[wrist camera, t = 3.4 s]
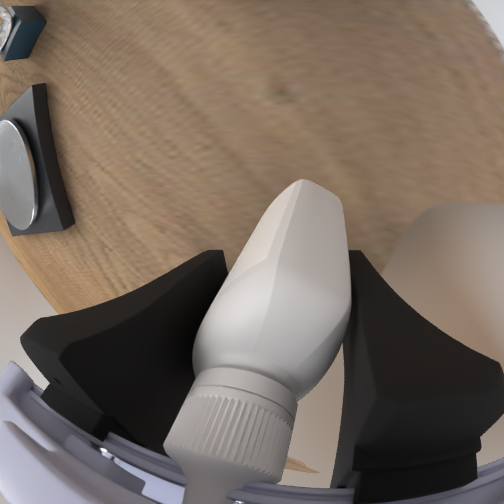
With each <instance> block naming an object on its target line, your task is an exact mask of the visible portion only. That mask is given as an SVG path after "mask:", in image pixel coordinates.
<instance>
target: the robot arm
mask: <svg viewBox="0 0 504 504" xmlns="http://www.w3.org/2000/svg"><path fill="white" fill-rule="evenodd" d="M348 253H349V263H350V275H351V300H352V304H351V313H350V319H349V324H348V327H347V330H346V334H345V337H344V340H343V353H344V376H345V377H344V379H345V381H344V396H343V407H342V417H341V425H340V433H339V441H338V447H337V453H336V459H335V465H334V470H333V476H332V480H331V485H330V488H308V487H307V488H306V487H296V486H286V485H278V484H271V483H264V482H254V483H248V484H245V485H244V488H242V489H233V490H232V491H230V492H228V493H227V495H226V496H225V497H226V498H229V499H232V500H234V501H236V502H235V503H234V504H504V458H501V459H499V460H496V461H493V462H491V463H488V464H485V465H483V466H480V467H477V459H476V453H477V452H479V451H480V450H481V440H480V436H482V434H484V433H485V432H486V431H487V430H488V429H489V428H490V427H491V426H492V425H493V424H494V423H495V422H496V421H497V420H498V419H499V418H500V417H501V416H502V415H503V414H504V373H503V370H502V368H501V365H500V363H499V362H497V361H495V360H493V359H490V358H489V357H487V356H484V355H482V354H480V353H478V352H476V351H474V350H472V349H470V348H469V347H467V346H465V345H463V344H462V343H460V342H459V341H457V340H455V339H453V338H452V337H450V336H449V335H447V334H446V333H444V332H443V331H441V330H440V329H438V328H437V327H436V326H434V325H433V324H432V323H430V322H429V321H428V320H426V319H425V318H424V317H422V316H421V315H420V314H419V313H417V312H416V311H415V310H414V309H413V308H412V307H411V306H409V305H408V304H407V303H406V302H405V301H404V300H403V299H402V298H401V297H400V296H399V295H398V294H397V293H396V292H395V291H394V290H393V289H392V288H391V287H390V286H389V285H388V284H387V283H386V282H385V280H384V279H383V278H382V277H381V276H380V274H379V273H378V272H377V271H376V270H375V268H374V267H373V266H372V264H371V263H370V262H369V261H368V259H367V258H366V257H365V255H364V254H363V253H362V252H361V250H348ZM227 276H228V271H227V267H226V262H225V257H224V252H223V250H207V251H205V252H203V253H201V254H199V255H197V256H195V257H193V258H192V259H190V260H188V261H186V262H185V263H183V264H181V265H180V266H178V267H176V268H174V269H173V270H171V271H169V272H168V273H166V274H164V275H162V276H160V277H159V278H157V279H155V280H153V281H151V282H150V283H148V284H146V285H144V286H142V287H140V288H138V289H136V290H134V291H131V292H129V293H127V294H125V295H123V296H120V297H118V298H115V299H112V300H110V301H107V302H104V303H101V304H99V305H96V306H93V307H89V308H86V309H82V310H79V311H75V312H71V313H66V314H61V315H55V316H50V317H44V318H40V319H38V320H36V321H35V322H34V323H33V324H32V325H31V326H30V327H29V328H28V329H27V330H26V331H25V332H24V333H23V334H22V336H21V337H20V340H21V344H22V347H23V349H24V350H25V352H26V354H27V355H28V356H29V358H30V359H31V360H32V362H33V363H34V364H35V366H36V367H37V368H38V369H39V371H40V372H41V373H42V374H43V375H44V377H45V378H46V379H47V380H48V381H49V383H50V384H49V385H48V386H47V388H46V389H45V390H42V389H41V388H40V387H38V386H37V385H36V384H35V383H34V382H33V380H32V379H31V378H30V377H29V376H28V374H27V373H26V372H25V371H24V370H23V369H22V368H21V367H20V366H18V365H17V364H16V363H15V362H13V361H10V362H9V364H8V365H7V366H6V367H5V369H4V370H3V371H2V372H1V373H0V492H1V493H2V495H3V496H4V497H5V499H6V500H7V501H8V503H9V504H182V502H183V496H184V491H185V486H187V479H186V476H185V475H184V473H183V471H182V469H181V467H180V465H178V464H177V463H176V462H175V461H174V460H173V459H171V457H170V456H169V455H168V454H167V453H166V452H165V449H164V447H163V444H164V442H165V440H166V438H167V436H168V434H169V432H170V430H171V428H172V426H173V424H174V422H175V420H176V418H177V416H178V414H179V411H180V409H181V407H182V405H183V403H184V401H185V399H186V397H187V395H188V393H189V391H190V389H191V387H192V385H193V383H194V381H195V379H196V377H195V374H194V370H193V364H192V353H193V346H194V342H195V338H196V335H197V332H198V330H199V327H200V325H201V323H202V321H203V319H204V317H205V315H206V313H207V312H208V310H209V308H210V306H211V304H212V303H213V301H214V299H215V297H216V296H217V294H218V292H219V290H220V288H221V287H222V285H223V283H224V281H225V280H226V278H227Z"/></svg>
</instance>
